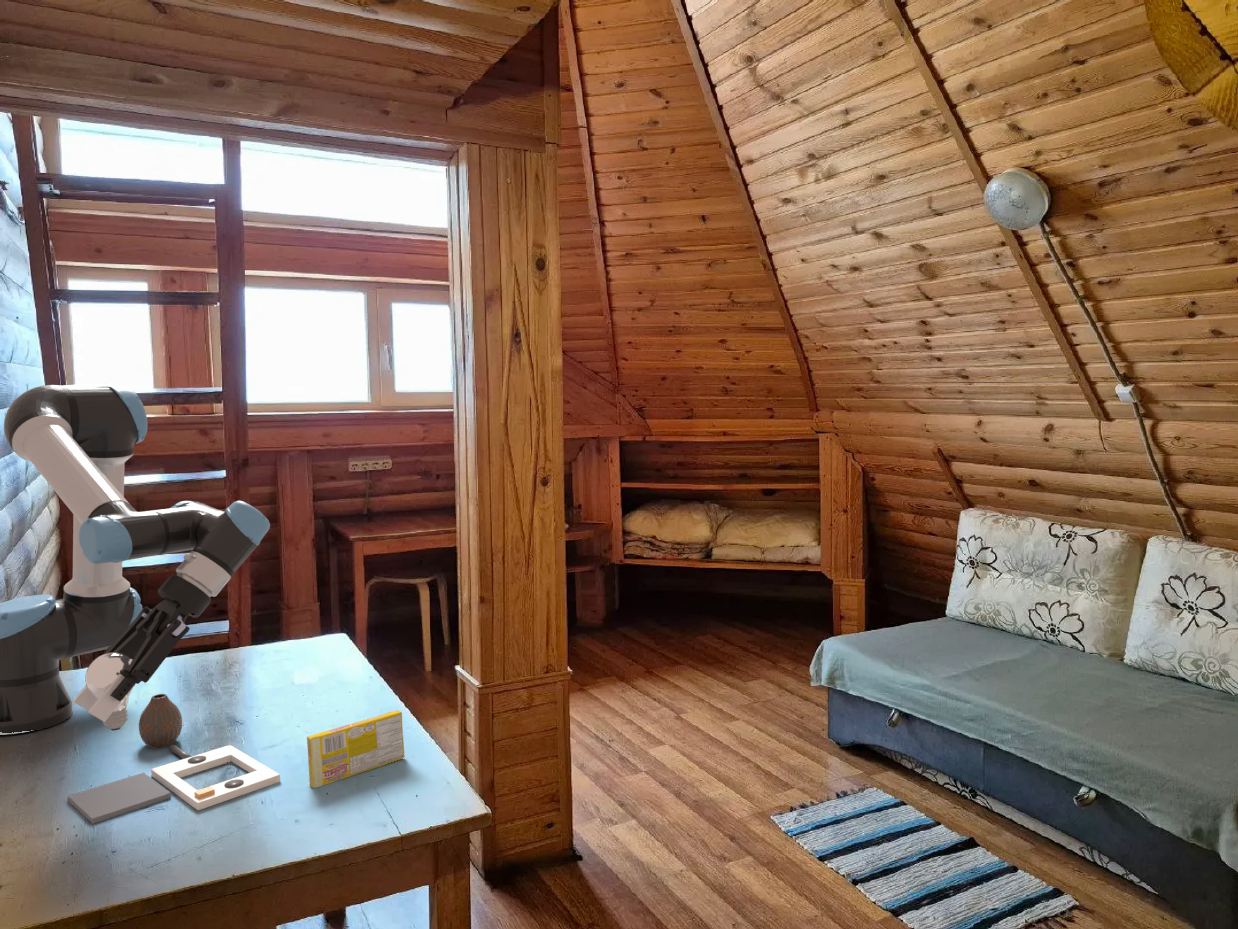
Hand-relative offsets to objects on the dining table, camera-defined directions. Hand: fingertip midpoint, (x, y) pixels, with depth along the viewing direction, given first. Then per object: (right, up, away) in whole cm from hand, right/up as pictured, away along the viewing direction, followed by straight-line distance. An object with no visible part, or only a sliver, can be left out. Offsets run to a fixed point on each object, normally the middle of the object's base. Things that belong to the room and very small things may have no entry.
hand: (88, 711), depth 134 cm
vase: (-2, -13, +26) cm, 29 cm away
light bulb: (+2, -4, +3) cm, 6 cm away
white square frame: (+11, -14, +14) cm, 22 cm away
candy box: (+37, -14, +13) cm, 41 cm away
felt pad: (+2, -15, +4) cm, 15 cm away
